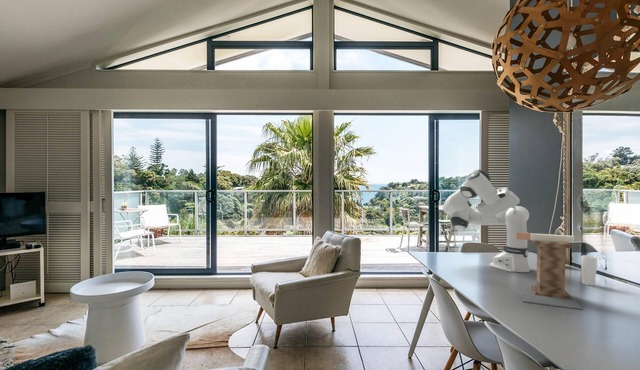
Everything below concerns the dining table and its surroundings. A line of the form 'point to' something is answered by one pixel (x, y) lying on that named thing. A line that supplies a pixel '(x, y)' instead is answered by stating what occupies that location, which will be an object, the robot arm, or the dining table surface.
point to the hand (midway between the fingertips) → (507, 216)
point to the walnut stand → (551, 269)
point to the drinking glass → (588, 269)
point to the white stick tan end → (544, 237)
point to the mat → (550, 301)
